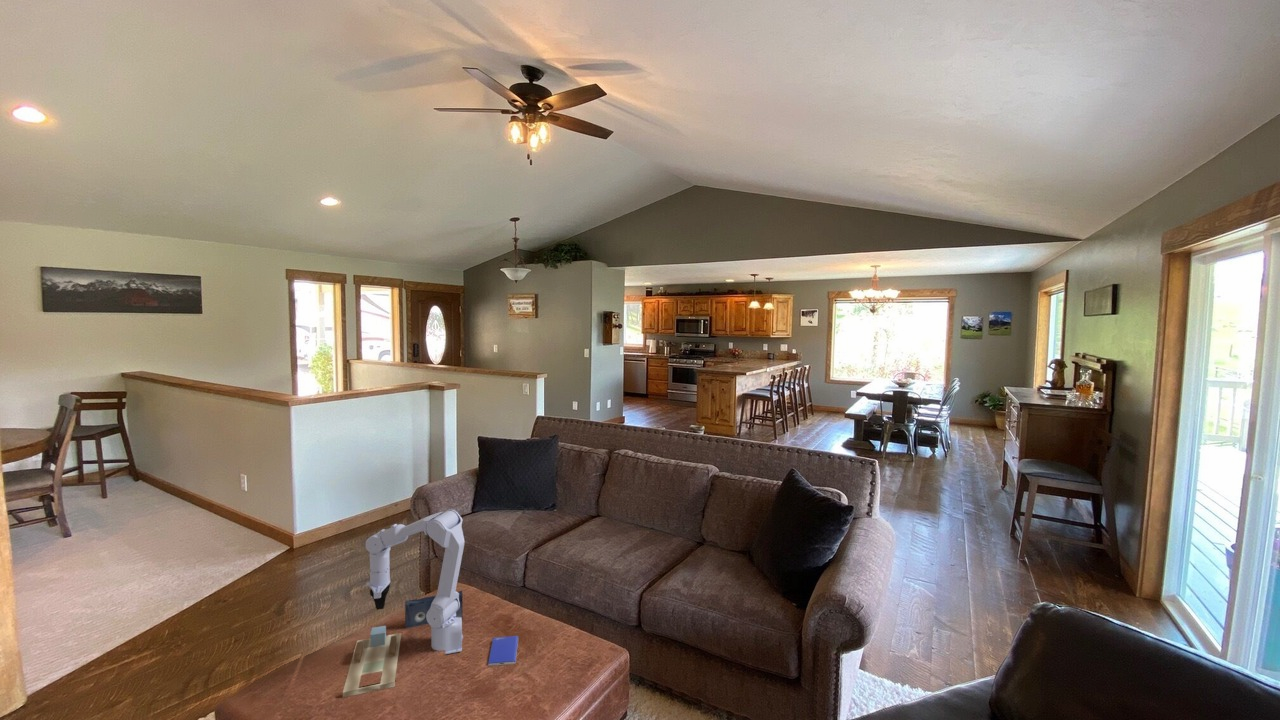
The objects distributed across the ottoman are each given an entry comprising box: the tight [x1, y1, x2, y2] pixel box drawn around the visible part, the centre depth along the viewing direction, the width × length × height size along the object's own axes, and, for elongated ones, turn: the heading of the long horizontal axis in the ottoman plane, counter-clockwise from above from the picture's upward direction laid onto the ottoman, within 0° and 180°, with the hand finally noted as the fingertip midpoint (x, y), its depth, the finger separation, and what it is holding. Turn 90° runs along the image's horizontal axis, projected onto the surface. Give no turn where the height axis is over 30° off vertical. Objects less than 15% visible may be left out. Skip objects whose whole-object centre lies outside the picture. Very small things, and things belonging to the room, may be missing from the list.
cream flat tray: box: [342, 632, 402, 698], centre depth 154 cm, size 13×24×4 cm, turn 21°
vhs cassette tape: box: [404, 590, 464, 629], centre depth 175 cm, size 18×3×10 cm, turn 114°
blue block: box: [369, 625, 387, 647], centre depth 163 cm, size 4×4×4 cm
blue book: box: [487, 635, 519, 667], centre depth 162 cm, size 2×8×12 cm
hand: (380, 608), depth 168 cm, fingers closed
